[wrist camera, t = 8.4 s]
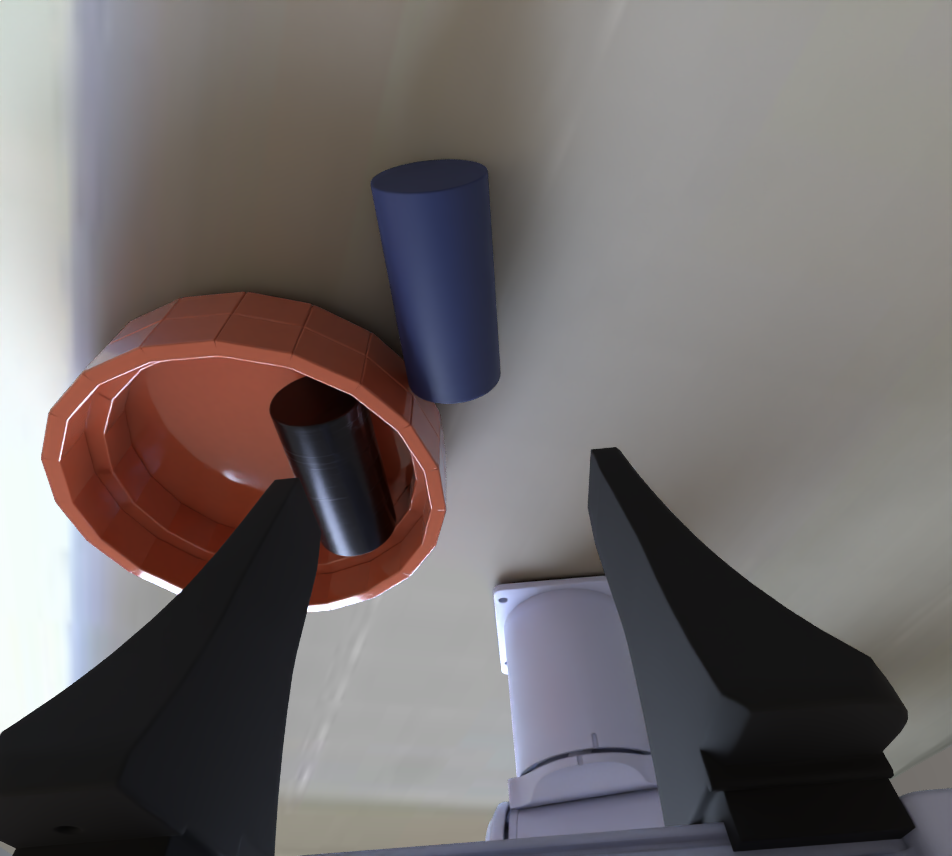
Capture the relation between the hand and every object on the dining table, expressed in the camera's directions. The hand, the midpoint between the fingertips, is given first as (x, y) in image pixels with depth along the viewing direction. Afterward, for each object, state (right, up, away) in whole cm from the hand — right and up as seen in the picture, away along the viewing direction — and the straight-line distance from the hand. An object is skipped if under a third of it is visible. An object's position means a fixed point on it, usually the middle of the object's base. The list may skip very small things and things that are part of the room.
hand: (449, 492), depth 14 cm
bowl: (-8, +1, +10) cm, 13 cm away
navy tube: (+1, +6, +4) cm, 8 cm away
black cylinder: (-6, +1, +9) cm, 11 cm away
